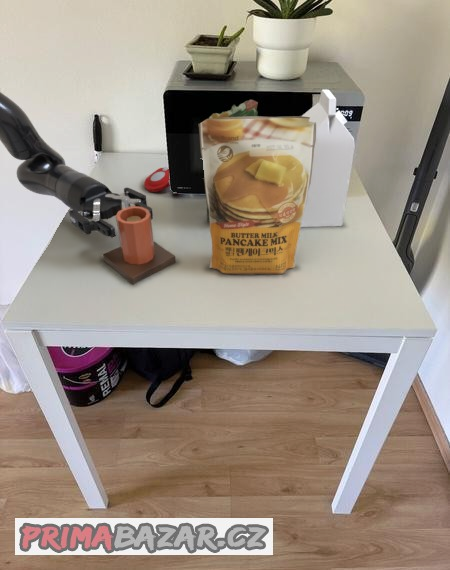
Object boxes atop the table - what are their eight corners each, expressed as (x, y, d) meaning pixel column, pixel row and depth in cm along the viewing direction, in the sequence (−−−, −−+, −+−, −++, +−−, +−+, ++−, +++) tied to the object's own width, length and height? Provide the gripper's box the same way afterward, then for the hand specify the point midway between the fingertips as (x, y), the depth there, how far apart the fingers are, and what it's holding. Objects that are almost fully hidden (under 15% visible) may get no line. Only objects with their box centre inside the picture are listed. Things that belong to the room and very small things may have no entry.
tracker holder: (135, 187, 108) (153, 162, 113) (143, 201, 111) (159, 176, 116) (178, 185, 102) (194, 159, 108) (185, 200, 105) (200, 174, 111)
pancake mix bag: (202, 254, 88) (198, 111, 70) (297, 254, 88) (318, 112, 71) (201, 275, 83) (197, 126, 65) (303, 275, 83) (326, 127, 65)
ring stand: (133, 284, 81) (126, 241, 75) (103, 260, 86) (94, 218, 80) (175, 262, 86) (172, 220, 80) (145, 241, 92) (140, 200, 86)
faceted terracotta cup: (127, 267, 82) (120, 226, 76) (119, 250, 86) (112, 210, 81) (158, 260, 84) (154, 219, 78) (149, 243, 88) (144, 203, 83)
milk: (281, 200, 106) (293, 85, 89) (328, 199, 106) (349, 84, 90) (290, 227, 96) (305, 104, 80) (342, 226, 97) (367, 103, 80)
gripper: (46, 189, 83) (96, 220, 75) (109, 166, 91) (161, 192, 83) (55, 223, 88) (103, 256, 79) (115, 198, 96) (164, 226, 87)
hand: (133, 223), depth 81 cm, fingers open, 8 cm apart
